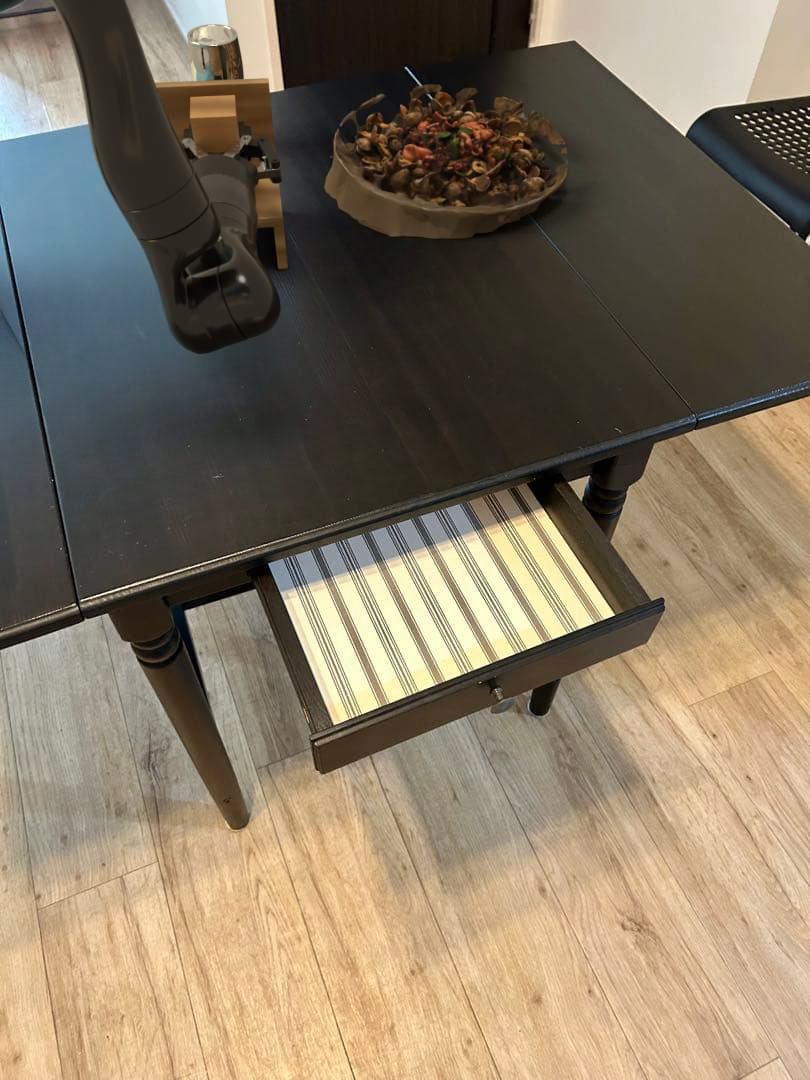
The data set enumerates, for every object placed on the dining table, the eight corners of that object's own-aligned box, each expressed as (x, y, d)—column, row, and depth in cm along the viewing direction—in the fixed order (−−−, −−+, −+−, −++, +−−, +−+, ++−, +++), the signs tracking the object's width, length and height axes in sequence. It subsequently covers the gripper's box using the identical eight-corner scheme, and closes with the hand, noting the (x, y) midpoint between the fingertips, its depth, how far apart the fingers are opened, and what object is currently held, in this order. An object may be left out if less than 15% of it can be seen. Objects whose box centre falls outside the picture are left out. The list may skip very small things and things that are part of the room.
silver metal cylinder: (218, 131, 123) (201, 19, 111) (260, 140, 121) (248, 28, 109) (195, 153, 119) (175, 40, 107) (239, 162, 117) (224, 49, 105)
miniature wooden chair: (287, 268, 102) (274, 132, 89) (181, 275, 101) (151, 138, 88) (281, 211, 110) (268, 77, 97) (182, 216, 109) (155, 82, 95)
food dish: (473, 102, 132) (480, 50, 126) (611, 203, 116) (626, 148, 110) (279, 151, 119) (276, 95, 113) (404, 271, 103) (408, 214, 97)
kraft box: (247, 201, 98) (236, 115, 90) (205, 203, 98) (189, 118, 90) (246, 179, 101) (235, 94, 93) (205, 181, 101) (190, 96, 93)
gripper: (285, 171, 84) (276, 94, 94) (141, 179, 82) (148, 100, 93) (291, 237, 90) (282, 158, 100) (158, 246, 88) (162, 164, 99)
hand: (218, 131), depth 96 cm, fingers closed on kraft box, 5 cm apart
